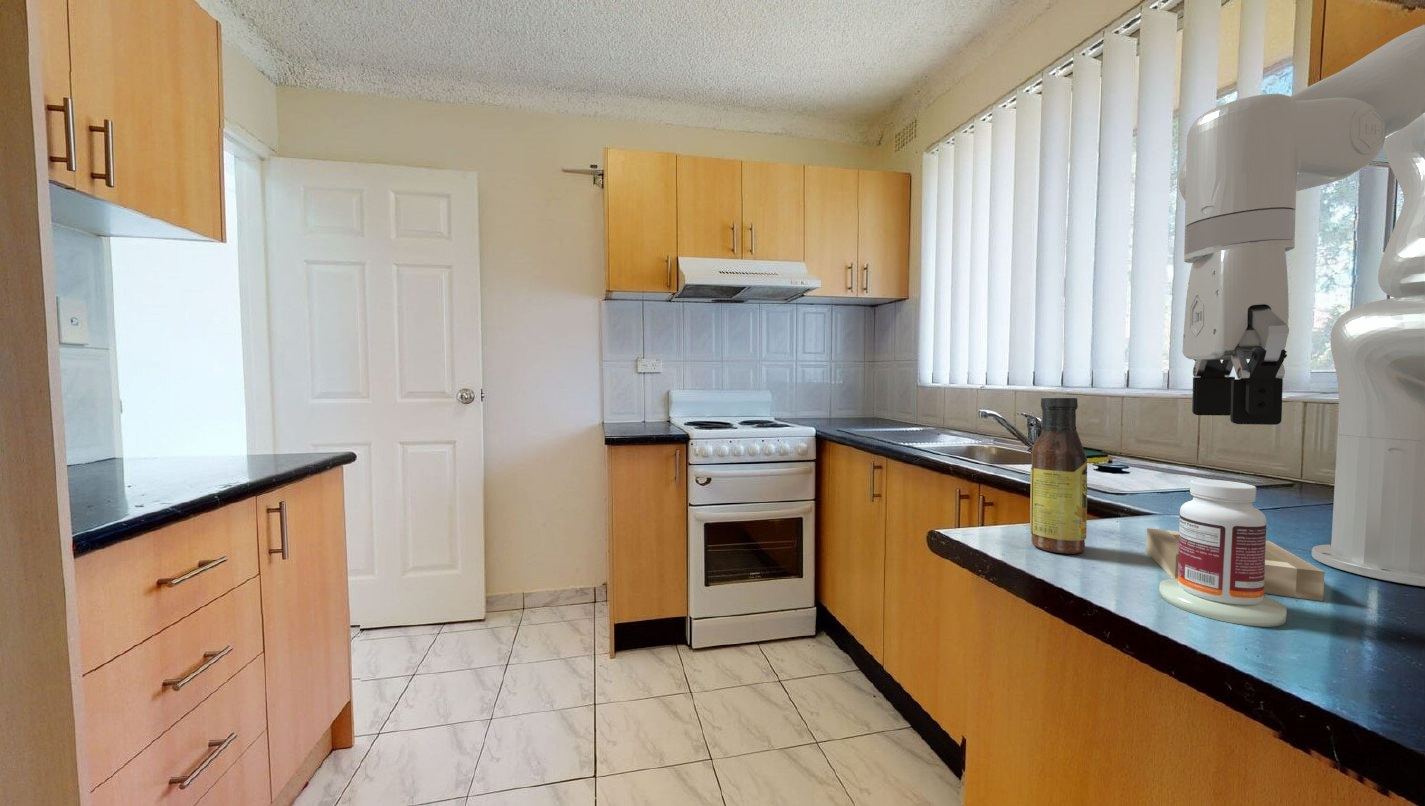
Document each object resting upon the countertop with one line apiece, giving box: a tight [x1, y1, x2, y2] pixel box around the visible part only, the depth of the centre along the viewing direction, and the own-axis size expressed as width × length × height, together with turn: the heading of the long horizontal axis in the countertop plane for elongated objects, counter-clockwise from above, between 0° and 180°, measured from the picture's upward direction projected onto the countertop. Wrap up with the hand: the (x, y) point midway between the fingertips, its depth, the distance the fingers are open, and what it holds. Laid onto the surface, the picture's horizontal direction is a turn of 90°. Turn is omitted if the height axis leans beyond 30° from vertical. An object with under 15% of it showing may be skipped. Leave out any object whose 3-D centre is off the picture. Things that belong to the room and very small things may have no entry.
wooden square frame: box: [1145, 528, 1325, 602], centre depth 61 cm, size 12×12×3 cm
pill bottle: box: [1178, 478, 1267, 605], centre depth 52 cm, size 6×6×11 cm
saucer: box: [1158, 578, 1287, 628], centre depth 53 cm, size 9×9×1 cm
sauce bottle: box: [1029, 396, 1088, 555], centre depth 70 cm, size 6×6×20 cm
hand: (1232, 419), depth 52 cm, fingers open, 9 cm apart
